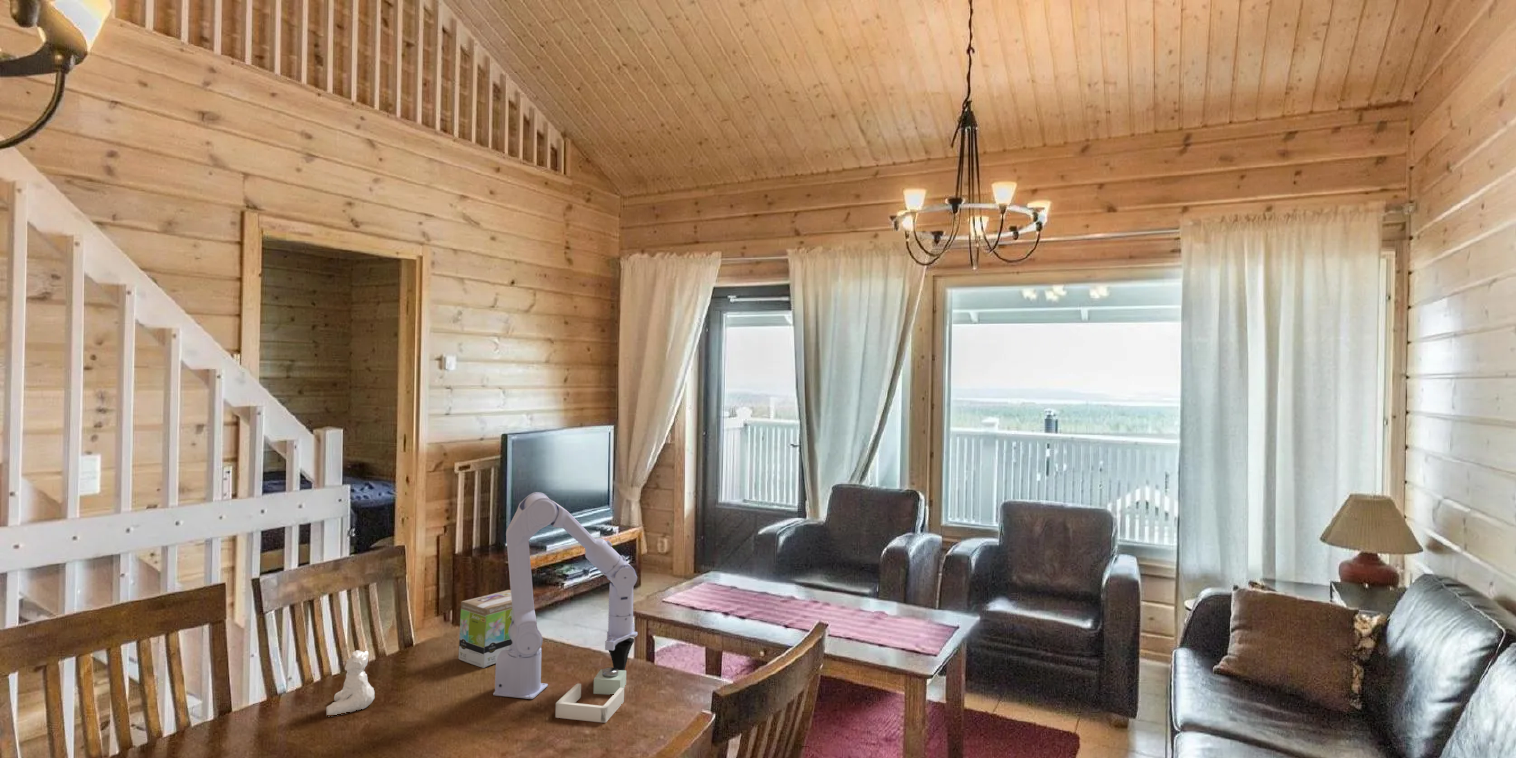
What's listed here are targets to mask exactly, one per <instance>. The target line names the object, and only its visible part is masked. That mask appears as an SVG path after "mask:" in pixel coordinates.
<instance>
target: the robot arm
mask: <svg viewBox="0 0 1516 758" xmlns="http://www.w3.org/2000/svg"><path fill="white" fill-rule="evenodd" d="M549 525H550V526H551V527H552V528H558V529H559V528H560V529H563V530H564V531H565V532H566V533H568V534H569V535H570V536H571V537H572V538H573V539H574V540H575V541H577V542H578V544H580V545H581V546H582V547H583V548H584V549H585V551H584V553H585V554H584V555H585V557H584V558H586V559H587V561H589V562H590V563H591V564H592V566H594V567H595V568H596V569H597V570H598V571H599V572H600V573H601V574H602V575H604V576H606V578H607V580H608V581H610V582H609V592H608V614H607V615H608V618H607V622H608V623H607V631H606V632H607V633H606V640H605V643H604V650H605V651H608V652H609V655H610V658H611V662H612V666H613V668H617V669H618V670H626V666H627V662H628V657H629V654H630V650H631V648H632V646H633V644H634V643H635V638H636V637H637V636H638V633H639V632H638V631H635V622H634V595H635V594H634V586H635V585H636V583H637V581H638V576H637V572H636V570H635V568H634V567H633V566H632V565H631V564H629V562H628V561H627V560H626V556H624V555H623V554H622V555H620V554H619V553H618V552H617V550H616V549H614V548H613V543H612V542H611V541H610V540H608V539H607V540H605V539H604V538H594V536H592V534H590V533H589V531H588V530H587V529H586V528H585V527H584V526H583V525H582V524H581V523H580V522H579V521H578V520H577V519H576V518H575V517H574V516H573V515H572V514H571V513H570V512H569V511H568V510H567V509H566V508H564V507H563V506H561V505H560V504H558V503H557V502H555V500H553V499H550V498H549V497H548V495H547V494H546V493H543V492H541V491H539V492H538V491H537V492H535V491H534V492H532V493H530V494H528V495H527V496H526V497H525V498H523V500H521V501H520V502H519V504H518V507H517V508H516V512H515V513H514V515H513V517H512V520H511V521H510V523H509V525H508V527H507V529H506V531H505V536H506V537H505V539H506V549H507V561H508V571H509V573H508V574H509V586H510V587H509V588H510V590H511V600H512V613H511V616H512V621H511V624H510V627H509V631H508V633H509V637H510V639H511V640H512V644H511V646H510V648H509V649H508V650H503V651H501V652H500V654H499V655H498V658H497V661H496V663H495V672H494V673H495V675H494V676H495V677H494V678H495V679H494V691H493V693H492V694H493V696H497V697H505V698H506V697H507V698H508V697H509V698H518V699H526V700H527V699H528V700H533V699H535V698H536V697H537V696H538V695H540V694H541V693H542V692H543V691H544V690H545V689H546V688H547V687H548V686H549V684H548V683H543V682H542V649H543V648H542V645H543V642H544V641H543V640H544V639H543V634H542V632H540V630H539V628H538V623H537V616H536V611H535V603H534V602H535V601H534V589H533V577H532V565H531V563H532V562H531V554H530V553H531V552H530V539H532V538H533V536H535V534H536V533H537V532H539V531H540V530H541V529H544V528H545V527H548V526H549Z"/></svg>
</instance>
